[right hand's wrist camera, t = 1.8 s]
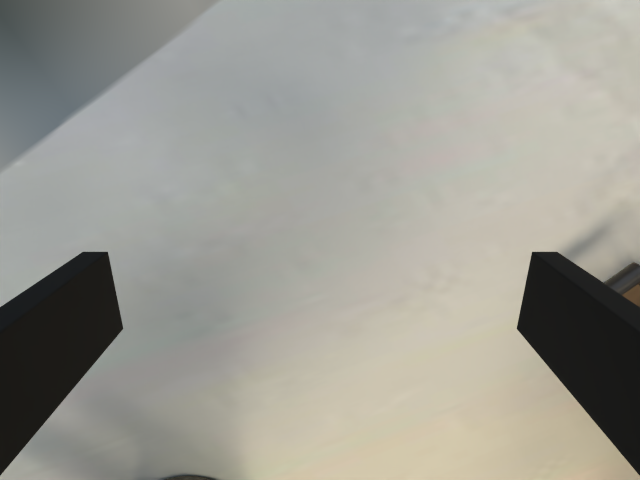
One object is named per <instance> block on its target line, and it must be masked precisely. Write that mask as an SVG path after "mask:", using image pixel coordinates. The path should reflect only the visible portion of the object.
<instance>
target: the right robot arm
mask: <svg viewBox="0 0 640 480" xmlns="http://www.w3.org/2000/svg"><path fill="white" fill-rule="evenodd" d="M122 329H123V325H122V320H121V315H120V310H119V306H118V301H117V296H116V291H115V286H114V281H113V276H112V271H111V266H110V261H109V256H108V252H82V253H81V254H79V255H78V256H76V257H75V258H73V259H72V260H70V261H69V262H67V263H66V264H64V265H63V266H61V267H60V268H58V269H57V270H55V271H54V272H52V273H51V274H49V275H48V276H46V277H45V278H43V279H42V280H40V281H39V282H37V283H36V284H34V285H33V286H31V287H30V288H28V289H27V290H25V291H24V292H22V293H21V294H19V295H18V296H16V297H15V298H13V299H12V300H10V301H9V302H7V303H6V304H4V305H3V306H1V307H0V475H1V474H2V473H3V472H4V470H5V469H6V468H7V467H8V466H9V464H10V463H11V462H12V461H13V460H14V458H15V457H16V456H17V455H18V454H19V452H20V451H21V450H22V449H23V448H24V446H25V445H26V444H27V443H28V442H29V440H30V439H31V438H32V437H33V436H34V435H35V433H36V432H37V431H38V430H39V429H40V427H41V426H42V425H43V424H44V423H45V421H46V420H47V419H48V418H49V417H50V415H51V414H52V413H53V412H54V411H55V409H56V408H57V407H58V406H59V405H60V403H61V402H62V401H63V400H64V399H65V397H66V396H67V395H68V394H69V393H70V392H71V390H72V389H73V388H74V387H75V386H76V384H77V383H78V382H79V381H80V380H81V378H82V377H83V376H84V375H85V374H86V372H87V371H88V370H89V369H90V368H91V366H92V365H93V364H94V363H95V362H96V360H97V359H98V358H99V357H100V356H101V354H102V353H103V352H104V351H105V350H106V349H107V347H108V346H109V345H110V344H111V343H112V341H113V340H114V339H115V338H116V337H117V335H118V334H119V333H120V332H121V331H122ZM517 329H518V331H519V332H520V333H521V334H522V335H523V337H524V338H525V339H526V340H527V341H528V343H529V344H530V345H531V346H532V347H533V349H534V350H535V351H536V352H537V353H538V354H539V356H540V357H541V358H542V359H543V360H544V362H545V363H546V364H547V365H548V366H549V368H550V369H551V370H552V371H553V372H554V374H555V375H556V376H557V377H558V378H559V380H560V381H561V382H562V383H563V384H564V386H565V387H566V388H567V389H568V390H569V392H570V393H571V394H572V395H573V396H574V397H575V399H576V400H577V401H578V402H579V403H580V405H581V406H582V407H583V408H584V409H585V411H586V412H587V413H588V414H589V415H590V417H591V418H592V419H593V420H594V421H595V423H596V424H597V425H598V426H599V427H600V429H601V430H602V431H603V432H604V433H605V435H606V436H607V437H608V438H609V439H610V440H611V442H612V443H613V444H614V445H615V446H616V448H617V449H618V450H619V451H620V452H621V454H622V455H623V456H624V457H625V458H626V460H627V461H628V462H629V463H630V464H631V466H632V467H633V468H634V469H635V470H636V472H637V473H638V474H639V475H640V307H639V306H637V305H636V304H634V303H633V302H631V301H630V300H628V299H627V298H625V297H624V296H622V295H621V294H619V293H618V292H616V291H615V290H613V289H612V288H610V287H609V286H607V285H606V284H604V283H603V282H601V281H600V280H598V279H597V278H595V277H594V276H592V275H591V274H589V273H588V272H586V271H585V270H583V269H582V268H580V267H579V266H577V265H576V264H574V263H573V262H571V261H570V260H568V259H567V258H565V257H564V256H562V255H561V254H559V253H558V252H532V256H531V261H530V266H529V271H528V276H527V281H526V286H525V291H524V296H523V301H522V305H521V310H520V315H519V320H518V325H517ZM166 480H212V479H208V478H202V477H194V476H183V477H174V478H169V479H166Z"/></svg>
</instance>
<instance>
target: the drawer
mask: <svg viewBox="0 0 640 480" xmlns="http://www.w3.org/2000/svg"><path fill="white" fill-rule="evenodd" d="M604 284H606V285H607V286H609V287H610V288H612V289H613V290H615V291H616V292H618V293H619V294H621V295H622V296H624V297H625V298H627V299H628V300H630V301H631V302H633V303H634V304H636V305H637V306H639V307H640V265H638V264H637V263H634V262H633V263H631V264H630V265H628V266H627V267H626V268H624V269H623V270H621V271H620V272H619V273H617V274H616V275H614V276H613V277H612V278H610V279H609V280H607V281H606V282H605V283H604Z"/></svg>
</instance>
